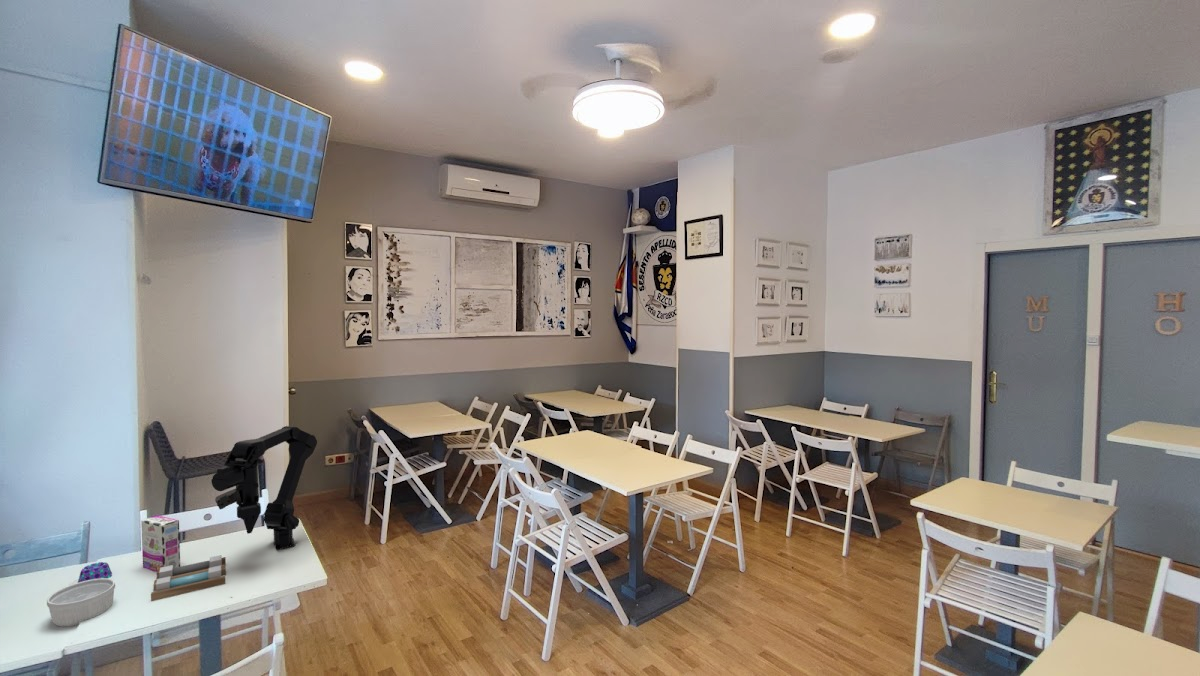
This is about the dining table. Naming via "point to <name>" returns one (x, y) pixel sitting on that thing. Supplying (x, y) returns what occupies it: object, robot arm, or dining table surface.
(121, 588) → the dining table surface
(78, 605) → the ramekin
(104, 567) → the purple spotted rounded lump
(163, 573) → the grey white-ended bar
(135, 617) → the dining table surface
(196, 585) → the walnut rack
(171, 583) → the grey and teal bar
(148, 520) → the candy bar box
